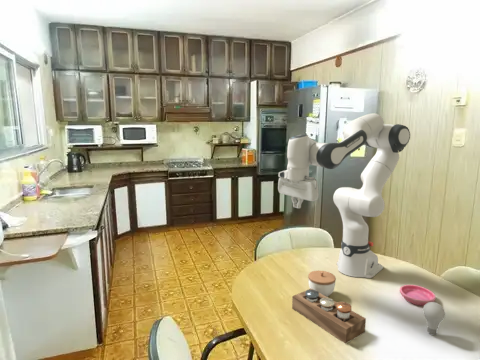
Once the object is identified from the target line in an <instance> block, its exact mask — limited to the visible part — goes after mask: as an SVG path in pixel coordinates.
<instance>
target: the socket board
mask: <svg viewBox="0 0 480 360" xmlns="http://www.w3.org/2000/svg"><path fill="white" fill-rule="evenodd" d="M307 290H313V289H310V288H309V289H307ZM307 290H304V291H302V292H299V293H296V294H295V295H292V299H291V300H292V303H291V304H292V305H291V307H292V310H294V311H295V312H297V313H299V314H300V315H301V316H303V317H304V318H306V319H307V320H309V321H310V322H311V323H313V324H315V325H316V326H318V327H319V328H321V329H323V330H324V331H325V332H326V333H329V334H330V335H332V336H333V337H334V338H336V339H337V340H339V341H341V342H342V343H344V344H345V345H346V344H348V343H349V342H351V341H353V340H354V339H356V338H358V337H359V336H361V335H363V334H365V332H366V320H367V318H366V317H364V316H362V315H361V314H359V313H357V312H355V311H353V310H351V312H350V320H348V321H347V322H343V321H341V320H340V319H338V318H337V309H336V304H337V303H338V302H337V301H335V300H333V301H334V307H333V310H331V311H329V312H326V311H325V310H323V309H321V305H320V299H321V298H329V296H328V297H326V296H324V295H322V294H321V293H319V292H318V293H319V297H318V298H317V301H316V302H313V303H311V302H310V301H308V300H306V296H305V292H306V291H307Z"/></svg>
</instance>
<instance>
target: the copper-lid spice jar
mask: <svg viewBox="0 0 480 360" xmlns="http://www.w3.org/2000/svg"><path fill="white" fill-rule="evenodd" d="M336 309H337V318H338V319H340V320H341V321H343V322H347V321H348V320H350V312H351V311H352V305H351V304H350V303H349V302H346V301H338V302H337V304H336Z"/></svg>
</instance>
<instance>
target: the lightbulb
mask: <svg viewBox="0 0 480 360" xmlns="http://www.w3.org/2000/svg"><path fill="white" fill-rule="evenodd" d="M422 313H423V316H424V317H425V319H426V326H427V333H428V334H429V335H431V336H435V335H436V334H437V332H438V329H439V326H440V323H442V321H444V319H445V318H446V311H445V309H444V307H443V305H441V304H439V303H438V302H436V301H434V302H428V303H426V304H425V305H424V306H423V308H422Z"/></svg>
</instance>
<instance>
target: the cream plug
mask: <svg viewBox="0 0 480 360" xmlns="http://www.w3.org/2000/svg"><path fill="white" fill-rule="evenodd" d="M334 301H335V300H334V299H332V298H329V297H328V298H321V299H320V305H321V309H323V310H325V311H326V312H329V311H331V310H333V307H334Z"/></svg>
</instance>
